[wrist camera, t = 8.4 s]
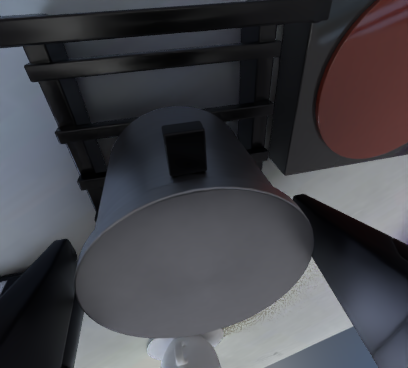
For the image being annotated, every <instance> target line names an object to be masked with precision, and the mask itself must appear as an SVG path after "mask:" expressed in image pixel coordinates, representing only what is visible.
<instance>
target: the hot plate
mask: <svg viewBox="0 0 408 368" xmlns="http://www.w3.org/2000/svg"><path fill="white" fill-rule="evenodd" d="M315 116H316V125H317V129H318V132H319V134H320V137H321V139H322V140H323V142H324V143H325V145H326V146H327V147H328V148H330V149H331V150H332V151H333V152H335V153H337V154H338V155H340V156H343V157H346V158H351V159H365V158H371V157H376V156H379V155H382V154H385V153H388V152H390V151H392V150H394V149H396V148H398V147H400V146H402V145H404V144H405V143H407V142H408V0H376V1H375V2H374V3H373V4H372V5H370V6H369V7H368V8H367V9H366V10H365V11H364V12H363V13H362V14H361V15H360V17H359V18H358V19H357V20H356V21H355V22H354V23H353V25H352V26H351V27H350V28H349V30H348V31H347V32H346V34H345V35H344V37H343V38H342V39H341V41H340V42H339V44H338V46H337V47H336V49H335V51H334V52H333V54H332V56H331V58H330V60H329V62H328V64H327V66H326V68H325V71H324V74H323V76H322V79H321V82H320V86H319V89H318V93H317V99H316V109H315Z"/></svg>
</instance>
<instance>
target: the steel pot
mask: <svg viewBox="0 0 408 368" xmlns="http://www.w3.org/2000/svg"><path fill="white" fill-rule="evenodd" d="M313 249H314V236H313V230H312V227H311V225H310V222H309V220H308V219H307V217H306V216H305V214H304V213H303V212H302V210H301V209H300V208H299V206H298V205H297V204H296V203H295V202H294V201H293V200H292V199H291V198H290V197H289V196H288V195H286V194H285V193H283V192H281V191H280V190H278V189H277V188H274V187H273V186H272V185H271V183H270V182H269V181H268V179H267V178H266V177H265V175H264V174H263V172H262V171H261V170H260V168H259V167H258V166H257V164H256V163H255V162H254V160H253V159H252V157H251V156H250V155H249V153H248V152H247V151H246V149H245V148H244V147H243V145H242V144H241V142H240V141H239V140H238V138H237V137H236V136H235V134H234V133H233V132H232V130H231V129H230V128H229V126H228V125H227V124H226V123H224V122H223V121H222V120H221V119H219V118H218V117H217V116H215V115H213V114H211V113H209V112H207V111H204V110H201V109H198V108H193V107H187V106H171V107H165V108H160V109H157V110H154V111H151V112H148V113H146V114H144V115H142V116H140V117H139V118H137V119H136V120H134V121H133V122H132V123H130V124H129V125H128V126H127V127H126V128H125V129H124V130H123V131H122V133H121V134H120V135H119V137H118V138H117V140H116V141H115V143H114V146H113V148H112V151H111V155H110V159H109V164H108V168H107V173H106V178H105V183H104V188H103V193H102V197H101V202H100V207H99V212H98V217H97V221H96V226H95V230H94V231H93V232H92V233H91V235H90V236H89V238H88V239H87V241H86V242H85V244H84V246H83V248H82V251H81V253H80V255H79V259H78V263H77V267H76V272H75V276H74V290H75V294H76V297H77V301H78V303H79V304H80V306H81V308H82V309H83V311H84V312H85V313H86V314H87V315H88V316H89V317H90V318H91V319H93V320H94V321H95V322H97V323H98V324H100V325H102V326H104V327H105V328H108V329H110V330H113V331H115V332H118V333H122V334H125V335H130V336H135V337H143V338H178V337H187V336H193V335H199V334H203V333H207V332H211V331H215V330H218V329H222V328H225V327H227V326H230V325H233V324H235V323H238V322H240V321H243V320H245V319H247V318H249V317H251V316H253V315H255V314H257V313H258V312H260V311H262V310H264V309H265V308H267V307H268V306H270V305H271V304H273V303H274V302H276V301H277V300H278V299H280V298H281V297H282V296H283V295H284V294H285V293H287V292H288V291H289V290H290V289H291V288H292V287H293V286H294V285H295V284H296V282H297V281H298V280H299V279H300V277H301V276H302V275H303V273H304V271H305V270H306V268H307V266H308V264H309V262H310V260H311V257H312V253H313Z"/></svg>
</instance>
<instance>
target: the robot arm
mask: <svg viewBox="0 0 408 368" xmlns="http://www.w3.org/2000/svg"><path fill="white" fill-rule="evenodd" d="M293 201H294V202H295V203H296V204H297V205H298V206H299V208H300V209H301V210H302V212H303V213H304V214H305V216H306V217H307V219H308V220H309V222H310V225H311V227H312V230H313V236H314V249H313V253H312V258H313V259H314V261H315V263H316V264H317V266H318V268H319V269H320V271H321V273H322V274H323V276H324V278H325V279H326V281H327V283H328V284H329V286H330V288H331V289H332V291H333V293H334V294H335V296H336V298H337V299H338V301H339V303H340V304H341V306H342V308H343V309H344V311H345V312H346V314H347V316H348V317H349V319H350V321H351V322H352V324H353V326H354V327H355V329H356V330H357V332H358V334H359V336H360V337H361V339H362V341H363V342H364V344H365V346H366V347H367V349H368V351H369V352H370V354H371V355H372V357H373V359H374V361H375V363H376V364H377V366H378V368H408V245H407V244H405V243H403V242H401V241H399V240H397V239H395V238H392V237H391V236H389V235H386V234H384V233H382V232H380V231H378V230H376V229H374V228H372V227H370V226H368V225H366V224H364V223H362V222H360V221H358V220H356V219H354V218H352V217H350V216H348V215H346V214H344V213H342V212H340V211H338V210H336V209H334V208H332V207H330V206H327V205H325V204H323V203H321V202H319V201H317V200H315V199H313V198H311V197H309V196H307V195H305V194H300V195H295V196H294V197H293ZM76 267H77V254H76V251H75V250H74V248H73V246H72V245H71V243H70V241H69V240H68V239H61V240H56V241H54V242H53V243H52V244H51V245H50V246H49V247H48V248H47V249H46V250H45V251H44V252H43V253H42V254H41V255H40V257H39V258H38V259H37V260H36V261H35V262H34V263H33V264H32V265H31V266H30V267H29V268H28V269H27V270H26V271H25V272H24V273H20V274H15V275H10V276H5V277H0V368H74V363H75V358H76V352H77V347H78V342H79V336H80V331H81V326H82V320H83V315H84V311H83V309H82V308H81V306H80V304H79V303H78V301H77V297H76V294H75V290H74V276H75V272H76Z"/></svg>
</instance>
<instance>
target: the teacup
mask: <svg viewBox="0 0 408 368" xmlns="http://www.w3.org/2000/svg"><path fill="white" fill-rule="evenodd" d="M223 337H224V332H223V330H222V329H218V330H215V331H211V332H207V333H203V334H199V335H193V336H187V337H178V338H155V339H154V340H152V341H151V343H150V344H149V345H148V347H147V353H148V355H149V356H150V357H152V358H154V359H157V360H162V363H161V368H221V366H220V362H219V359H218V356H217V354H216V352H215V350H214V347H215V346H216V345H217V344H219V343H220V342H221V340H222V339H223Z"/></svg>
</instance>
